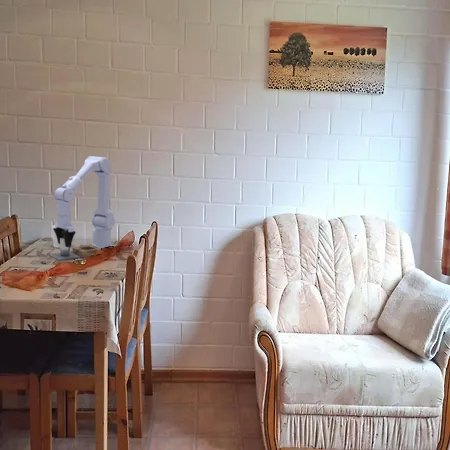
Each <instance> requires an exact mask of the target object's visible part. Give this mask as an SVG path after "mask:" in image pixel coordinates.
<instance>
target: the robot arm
mask: <svg viewBox="0 0 450 450" xmlns="http://www.w3.org/2000/svg"><path fill="white" fill-rule="evenodd" d="M92 172H93V173H95V174H96V175H97V176H98V180H97V181H98V182H97V183H98V184H97V186H98V187H97V188H98V189H97V193H98V194H97V209H96V210H94V211H93V216H92V219H91V223H92V225H93V227H94V229H93V231H92V243H91V244H90V245H94V246H96V247H98V248H102V249H105V248H104V247H107V246H114V245H113V244H112V229H113V227H114V225H115V223H116V222H115V217H114V214H115V213H114V212H113V211H112V210H111V209H110V196H111V195H110V193H111V191H110V189H111V161H110V160H109V158H107V156H103V157H102V156H93V155H89V156H88V157H87V158H86V159H85V160H84V164H83V165H82V166H81V168H80V170H79V171H78V172H77V173H76V174H75V175H72V176H69V177H68V180H66V181H65V182H64V184H62V186H61V187H57V189H55V190H54V194H53V198H54V199H55V204H56V210H57V211H56V214H57V215H56V217H57V221H55V223H54V225H55V227H56V228H53V230H54V232H55V234H56V236H57V240H58V244H60V238H62V237H64V240H65V246H66V247H70V248H72V244H73V239H74V237H75V234H76V231H75V230H74V226H72V219H71V217H72V215H71V214H72V212H71V209H72V208H71V204H72V202H71V201H72V200H73V199H74V195H75V193H76V192H77V190H78V189H79V188H80V187H81V185H82V181H83V180H84V179H85V178H86V177H88V175H90V173H92Z"/></svg>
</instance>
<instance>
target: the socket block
mask: <svg viewBox="0 0 450 450" xmlns="http://www.w3.org/2000/svg"><path fill="white" fill-rule="evenodd" d="M71 248H72V251H71V253H73V254H76V255H78V256H80V258H86V257H91V256H90V255H92V254H94V253H95V252H97V251H99V250H101V248H98V247H96V246H94V245H91V244H90V245H83V246H82V245H81V246H71Z"/></svg>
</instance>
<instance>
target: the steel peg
mask: <svg viewBox="0 0 450 450" xmlns="http://www.w3.org/2000/svg"><path fill="white" fill-rule="evenodd" d="M59 250H60V253H61V256H62V257H67V256H70V252H71V247H66V246H65V240H64V237H62V238H60V248H59Z"/></svg>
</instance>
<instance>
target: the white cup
mask: <svg viewBox="0 0 450 450" xmlns="http://www.w3.org/2000/svg"><path fill="white" fill-rule="evenodd" d="M53 228H56V227H55V224H54V225H51V235H52V243H53V244H52V245H53V247H54V248H58V249H60V244H58V240H57V236H56V234H55V232H54V230H53Z"/></svg>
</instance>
